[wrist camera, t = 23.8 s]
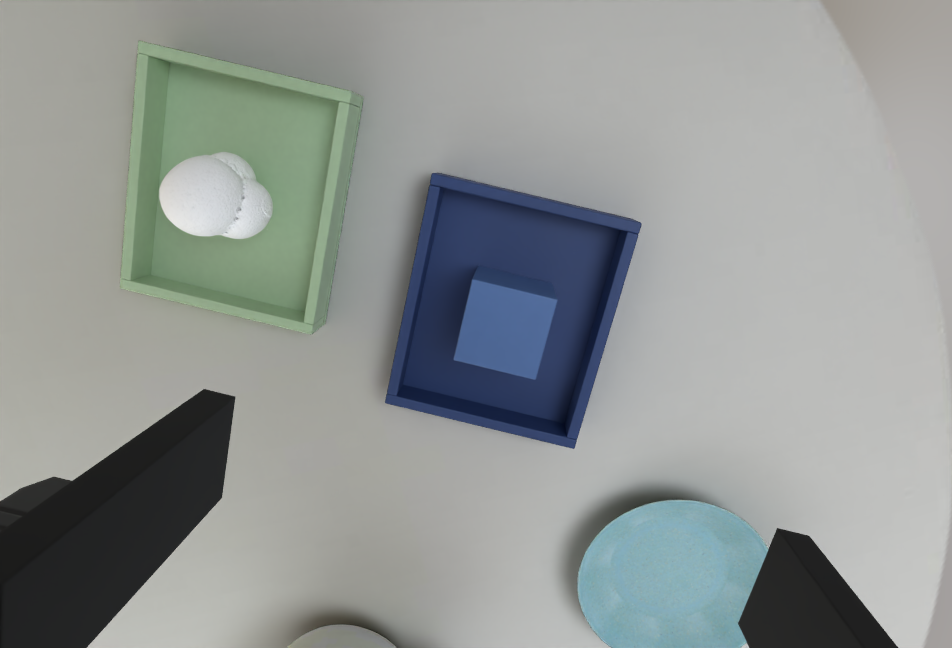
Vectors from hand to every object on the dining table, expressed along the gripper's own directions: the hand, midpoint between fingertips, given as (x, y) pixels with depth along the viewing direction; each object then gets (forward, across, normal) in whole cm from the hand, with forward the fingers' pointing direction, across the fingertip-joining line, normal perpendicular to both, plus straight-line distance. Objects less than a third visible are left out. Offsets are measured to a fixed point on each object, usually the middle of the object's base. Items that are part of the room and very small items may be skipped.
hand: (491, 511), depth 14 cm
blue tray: (+22, 0, 0) cm, 22 cm away
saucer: (+22, +14, -14) cm, 30 cm away
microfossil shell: (+21, -16, +3) cm, 27 cm away
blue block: (+21, 0, 0) cm, 21 cm away
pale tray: (+22, -16, +3) cm, 27 cm away
